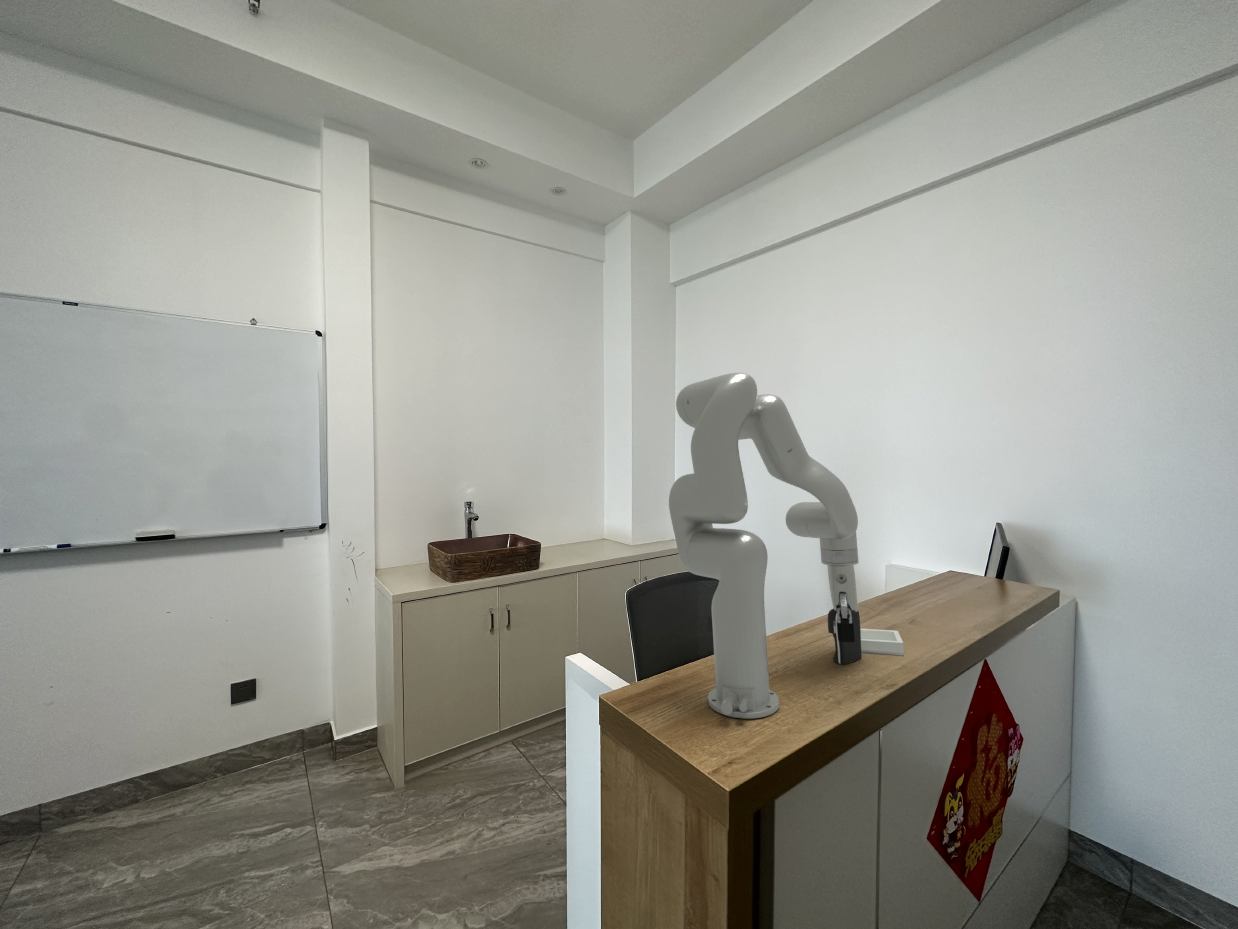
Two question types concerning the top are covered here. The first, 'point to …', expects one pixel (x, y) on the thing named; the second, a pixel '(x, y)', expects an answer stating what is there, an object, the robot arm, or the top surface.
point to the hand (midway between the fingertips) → (845, 634)
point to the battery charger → (845, 650)
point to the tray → (881, 642)
